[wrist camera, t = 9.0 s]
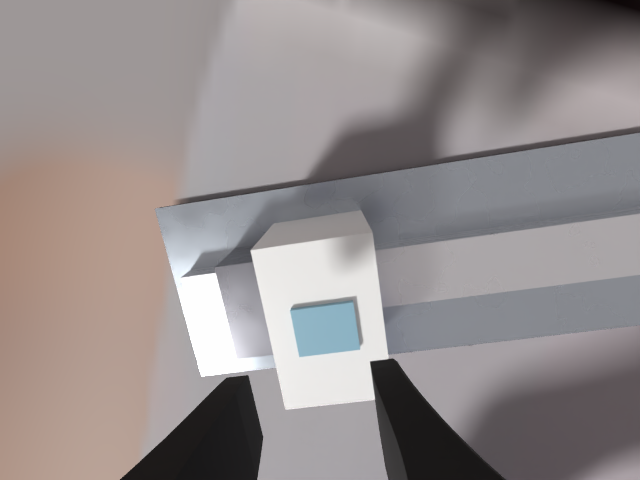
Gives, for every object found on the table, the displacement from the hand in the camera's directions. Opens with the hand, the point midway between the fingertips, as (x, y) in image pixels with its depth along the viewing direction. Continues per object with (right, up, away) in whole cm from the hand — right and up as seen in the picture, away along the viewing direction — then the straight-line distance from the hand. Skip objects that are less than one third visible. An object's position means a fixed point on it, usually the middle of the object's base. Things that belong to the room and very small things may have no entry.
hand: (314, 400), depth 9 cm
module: (+1, +2, +9) cm, 9 cm away
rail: (+5, +3, +9) cm, 11 cm away
